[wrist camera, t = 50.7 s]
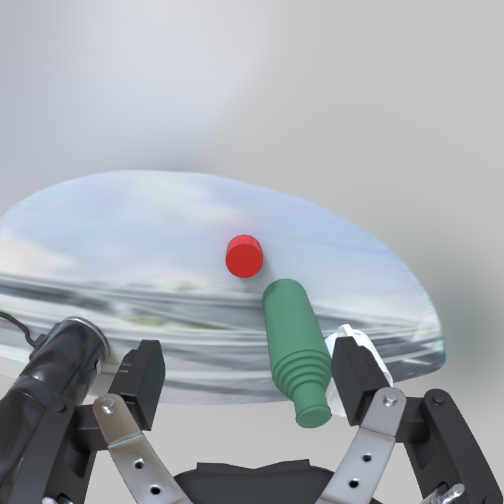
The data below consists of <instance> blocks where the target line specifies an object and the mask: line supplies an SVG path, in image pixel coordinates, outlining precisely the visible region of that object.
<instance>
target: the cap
mask: <svg viewBox="0 0 504 504" xmlns="http://www.w3.org/2000/svg"><path fill="white" fill-rule="evenodd" d="M262 258H263V256H262V250H261V247H260V245H259V242H258V241H257V240H256V239H255V238H253V237H252V236H248V235H240V236H237V237H235V238H234V239H232V240H231V242H230V243H229V244H228V248H227V254H226V265H227V268H228V270H229V271H230V272H231V273H232V274H233V275H235V276H237V277H241V278H247V277H251V276H253V275H255V274H256V273H257V272H258V271H259V270H260V268H261V266H262V262H263V259H262Z"/></svg>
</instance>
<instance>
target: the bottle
mask: <svg viewBox="0 0 504 504" xmlns="http://www.w3.org/2000/svg"><path fill="white" fill-rule="evenodd" d="M263 307H264V315H265V323H266V332H267V340H268V348H269V356H270V365H271V373H272V379H273V382H274V383H275V385H276V387H277V388H278V389H279V390H280V391H281V392H282V393H283V394H284V395H286V396H287V397H288V398H289V399H291V400H292V401H293V402H294V406H295V411H296V422H297V423H298V424H299V425H300V426H301V427H304V428H316V427H319V426H321V425H323V424H325V423H326V422H327V421H328V420H330V418H331V416H332V414H331V408H330V407H329V406H328V403H327V399H326V396H325V393H326V390H327V388H328V386H329V383H330V381H331V378H332V374H331V359H332V358H331V356H330V353H329V351H328V348H327V345H326V343H325V340H324V338H323V335H322V333H321V330H320V327H319V325H318V322H317V320H316V317H315V315H314V312H313V310H312V307H311V305H310V302H309V300H308V297H307V295H306V293H305V290H304V288H303V287H302V286H301V285H300V284H299V283H298V282H296V281H294V280H290V279H282V280H278V281H276V282H274V283H272V284H271V285H269V286H268V287H267V289H266V290H265V292H264V295H263Z"/></svg>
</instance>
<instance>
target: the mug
mask: <svg viewBox="0 0 504 504" xmlns="http://www.w3.org/2000/svg"><path fill="white" fill-rule="evenodd" d="M345 336H353V337H354V339H355V340H356V342H357V344H358V346H361V345H364V346H365V347H366V348H368V349H369V350H370V351H371V352H372V354H373V355H374V357H375V360H376V361H377V362H378V364H379V366H380V368H381V370H382V371H383V373H384V375H385V377H386V378H387V380H388V382H389V384H390V386H391V387H392V386H393V379H392V377H391V375H390V373H389V371H388V370H387V368H386V366H385V364H384V363H383V361H382V359H381V357H380V356H379V354H378V352H377V351H376V349H375V347H374V346H373V344H372V342H371V340H370V339H369V337H368V336H367V335H366V334H365V333H363V332H361V331H358V330H353V329H351V327H350V326H349V324H346V325H341V326H339V328H338V331H337V332H336V333H334V334H332V335H330V336H329V337H327V338H326V339H325V343H326V345H327V348H328V351H329V353H330V356H331V358H332V354H333V349H334V344H335V340H336V338H337V337H345ZM325 396H326V399H327V403H328V406H329V407H330V408H331V412H332V413H334V414H335V415H338V416H344V417H347V416H346V413H345V410H344V407H343V404H342V402H341V399H340V396H339V393H338V391H337V388H336V385H335V382H334V380H333V377H332V378H331V381H330V383H329V386H328V388H327V390H326V393H325Z"/></svg>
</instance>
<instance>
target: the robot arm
mask: <svg viewBox="0 0 504 504" xmlns="http://www.w3.org/2000/svg"><path fill="white" fill-rule="evenodd" d="M0 317H3V318H5V319H7V320H9V321H11V322H13V323H14V324H16V325H17V326H18V327H20V328H21V329H22V330H23V331H24V332H25V338H26V340H27V342H28V343H29V344H30V345H31V346H33V347H34V349H35V350H34V351H33V352H32V353H31V354H30V356H29V360H30V362H29V363H28V365H27V366H26V367H25V369H24V370H23V371H22V373H21V374H20V375H19V377H18V378H17V379H16V381H15V382H14V383H13V385H12V386H11V388H10V389H9V391H8V392H7V393H6V394H5V396H4V397H3V398H2V399H1V400H0V504H84V501H85V496H86V492H87V488H88V484H89V480H90V476H91V472H92V468H93V464H94V460H95V457H96V453H97V451H100V450H108V451H109V453H110V455H111V457H112V459H113V461H114V463H115V465H116V467H117V469H118V471H119V473H120V475H121V476H122V478H123V480H124V482H125V484H126V486H127V487H128V489H129V491H130V493H131V494H132V496H133V498H134V499H135V501H136V503H137V504H382V503H381V502H379V501H378V500H376V499H374V498H373V497H372V496H373V494H374V492H375V490H376V488H377V486H378V484H379V481H380V479H381V477H382V475H383V472H384V470H385V468H386V465H387V463H388V460H389V458H390V455H391V453H392V450H393V447H394V445H395V443H404V446H405V448H406V451H407V454H408V457H409V459H410V462H411V465H412V467H413V470H414V473H415V476H416V479H417V482H418V485H419V488H420V490H421V494H422V497H423V501H422V502H421V503H420V504H503V496H502V493H501V491H500V489H499V486H498V484H497V482H496V480H495V478H494V475H493V473H492V471H491V469H490V467H489V465H488V463H487V461H486V459H485V457H484V455H483V453H482V451H481V449H480V447H479V445H478V443H477V442H476V440H475V438H474V436H473V434H472V432H471V430H470V429H469V427H468V425H467V423H466V422H465V420H464V418H463V417H462V415H461V413H460V411H459V409H458V408H457V406H456V404H455V403H454V401H453V399H452V398H451V396H450V395H449V394H448V393H447V392H445V391H444V390H441V389H431V390H429V391H427V392H426V394H425V395H424V397H423V398H416V397H406V396H405V395H404V394H403V392H402V391H400V390H399V389H396V388H393V387H391V386H390V384H389V382H388V380H387V378H386V377H385V375H384V373H383V371H382V370H381V368H380V366H379V364H378V362H377V361H376V360H375V357H374V355H373V354H372V352H371V351H370V350H369V349H368V348H366V347H365V346H364V345H361V346H358V344H357V342H356V340H355V339H354V337H353V336H345V337H337V338H336V340H335V344H334V349H333V354H332V359H331V374H332V377H333V380H334V382H335V385H336V388H337V391H338V393H339V396H340V399H341V402H342V404H343V407H344V410H345V413H346V416H347V418H348V421H349V424H350V426H355V425H359V427H360V428H359V429H358V431H357V433H356V436H355V437H354V439H353V441H352V443H351V445H350V447H349V449H348V451H347V453H346V454H345V456H344V458H343V460H342V462H341V463H340V465H339V467H338V468H337V470H336V472H333V471H330V470H328V469H325V468H321V467H317V466H310V463H309V459H304V460H296V461H284V462H279V463H276V464H272V465H268V466H265V467H261V468H257V469H249V468H243V467H238V466H233V465H229V464H224V463H223V464H222V463H198V462H197V468H196V469H194V470H189V471H186V472H183V473H180V474H178V475H176V476H174V477H172V476H171V474H170V473H169V472H168V470H167V469H166V467H165V466H164V464H163V463H162V461H161V460H160V459H159V457H158V455H157V454H156V452H155V451H154V450H153V448H152V446H151V445H150V443H149V442H148V440H147V438H146V437H145V435H144V434H143V433H142V430H146V431H151V427H152V424H153V420H154V416H155V412H156V408H157V405H158V401H159V397H160V393H161V390H162V386H163V383H164V379H165V363H164V359H163V355H162V350H161V345H160V342H159V340H145V339H143V340H142V341H141V343H140V345H139V348H138V350H134V349H132V350H131V351H130V352H129V353H127V354H126V355H125V356H124V359H123V361H122V363H121V365H120V367H119V369H118V371H117V373H116V376H115V378H114V380H113V382H112V384H111V387H110V389H109V391H108V393H107V394H104V395H101V396H100V397H98V398H97V399H96V400H95V401H94V403H93V404H91V405H82V403H83V401H84V399H85V397H86V395H87V393H88V391H89V389H90V387H91V386H92V384H93V382H94V380H95V378H96V376H97V377H98V375H99V374H100V372H101V367H102V365H103V363H104V362H105V361H106V359H107V357H108V355H109V348H108V344H107V341H106V339H105V338H104V336H103V335H102V333H101V332H100V331H99V330H98V329H97V328H96V327H95V326H94V325H93V324H91V323H90V322H88V321H86V320H84V319H82V318H79V317H68V318H66V319H64V320H63V321H62V322H61V323H57V324H56V325H55V326H54V327H53V328H52V330H51V331H50V332H49V333H48V334H47V335H44V334H41V335H40V336H39V337H38V338H37V339H36V341H35V342H34V341H33V340H32V339H31V338H30V333H29V330H28V329H27V328H26V327H25V326H24V325H23V324H22V323H20V322H19V321H18V320H16V319H15V318H13V317H11V316H10V315H8V314H5V313H3V312H0ZM23 457H24V458H23ZM22 459H23V460H22Z"/></svg>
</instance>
